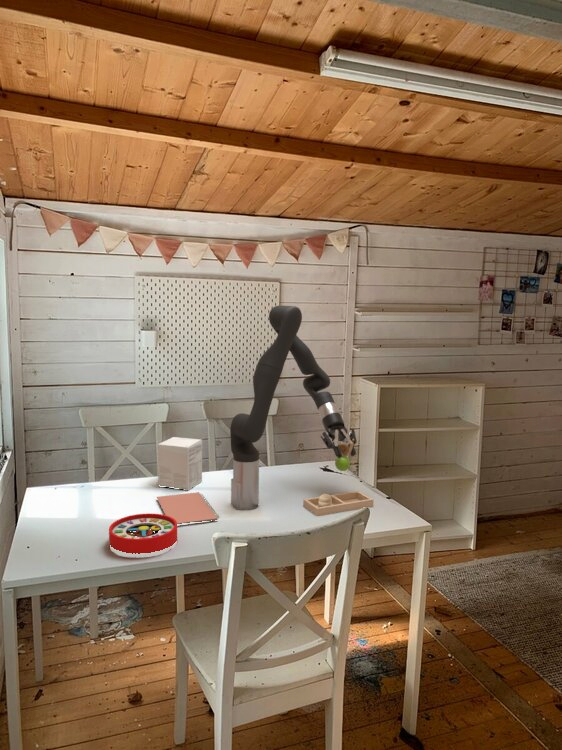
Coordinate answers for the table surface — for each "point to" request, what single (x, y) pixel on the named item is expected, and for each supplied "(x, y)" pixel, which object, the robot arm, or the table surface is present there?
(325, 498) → the beige domed knob
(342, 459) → the snail figurine
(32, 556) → the table surface
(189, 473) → the supplement box
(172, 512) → the notebook
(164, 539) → the toy clock
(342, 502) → the divided tray
